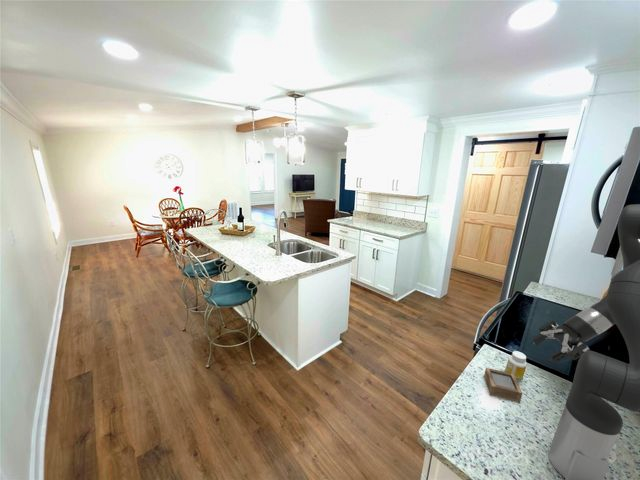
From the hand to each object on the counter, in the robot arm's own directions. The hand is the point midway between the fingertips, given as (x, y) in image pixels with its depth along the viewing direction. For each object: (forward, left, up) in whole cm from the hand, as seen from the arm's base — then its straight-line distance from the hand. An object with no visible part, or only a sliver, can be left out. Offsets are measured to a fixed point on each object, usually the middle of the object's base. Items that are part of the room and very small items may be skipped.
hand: (542, 350), depth 91 cm
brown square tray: (-10, +13, -12) cm, 20 cm away
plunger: (-10, +13, -9) cm, 19 cm away
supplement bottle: (-2, +7, -12) cm, 14 cm away
